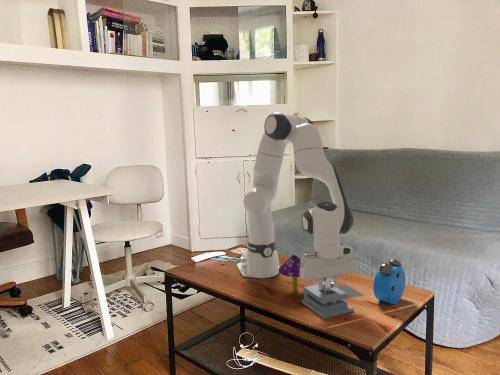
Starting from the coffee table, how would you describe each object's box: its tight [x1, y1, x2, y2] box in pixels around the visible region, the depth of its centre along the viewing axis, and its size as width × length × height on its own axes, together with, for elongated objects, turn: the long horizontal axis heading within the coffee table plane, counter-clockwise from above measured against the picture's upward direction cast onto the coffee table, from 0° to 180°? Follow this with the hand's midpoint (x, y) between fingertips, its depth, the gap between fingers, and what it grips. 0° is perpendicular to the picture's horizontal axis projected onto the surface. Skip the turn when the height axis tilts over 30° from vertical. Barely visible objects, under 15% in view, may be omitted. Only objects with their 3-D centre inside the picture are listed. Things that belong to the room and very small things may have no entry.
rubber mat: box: [335, 283, 365, 301], centre depth 153 cm, size 12×12×1 cm
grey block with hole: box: [301, 282, 355, 320], centre depth 140 cm, size 14×12×6 cm
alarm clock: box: [372, 258, 406, 305], centre depth 143 cm, size 13×6×15 cm, turn 135°
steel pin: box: [322, 276, 332, 295], centre depth 140 cm, size 3×3×10 cm
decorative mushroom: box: [279, 254, 301, 293], centre depth 154 cm, size 12×12×15 cm
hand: (327, 288), depth 140 cm, fingers closed on steel pin, 3 cm apart
